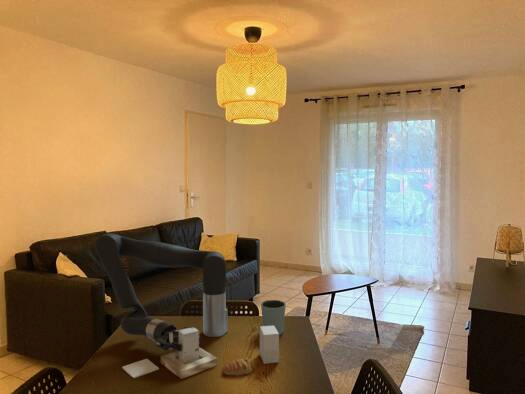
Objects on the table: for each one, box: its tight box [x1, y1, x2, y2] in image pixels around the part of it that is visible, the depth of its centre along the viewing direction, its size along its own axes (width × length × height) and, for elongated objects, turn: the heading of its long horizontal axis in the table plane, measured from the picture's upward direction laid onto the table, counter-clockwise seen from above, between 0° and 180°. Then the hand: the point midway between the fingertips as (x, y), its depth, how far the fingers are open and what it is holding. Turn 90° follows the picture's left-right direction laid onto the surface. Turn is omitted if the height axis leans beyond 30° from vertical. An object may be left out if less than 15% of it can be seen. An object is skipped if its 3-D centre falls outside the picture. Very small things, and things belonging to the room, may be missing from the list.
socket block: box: [160, 346, 218, 380], centre depth 141 cm, size 14×14×2 cm
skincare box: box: [178, 326, 200, 364], centre depth 141 cm, size 6×4×12 cm
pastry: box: [222, 357, 252, 377], centre depth 137 cm, size 9×7×4 cm
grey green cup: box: [260, 299, 287, 336], centre depth 169 cm, size 10×10×12 cm
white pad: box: [121, 358, 160, 379], centre depth 138 cm, size 9×9×1 cm
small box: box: [259, 325, 280, 365], centre depth 146 cm, size 8×6×10 cm
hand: (190, 344), depth 140 cm, fingers open, 8 cm apart
